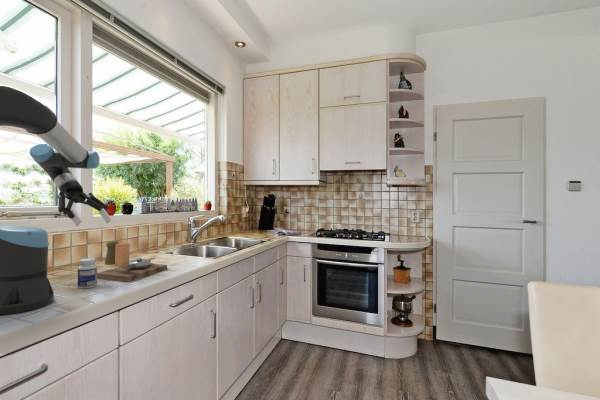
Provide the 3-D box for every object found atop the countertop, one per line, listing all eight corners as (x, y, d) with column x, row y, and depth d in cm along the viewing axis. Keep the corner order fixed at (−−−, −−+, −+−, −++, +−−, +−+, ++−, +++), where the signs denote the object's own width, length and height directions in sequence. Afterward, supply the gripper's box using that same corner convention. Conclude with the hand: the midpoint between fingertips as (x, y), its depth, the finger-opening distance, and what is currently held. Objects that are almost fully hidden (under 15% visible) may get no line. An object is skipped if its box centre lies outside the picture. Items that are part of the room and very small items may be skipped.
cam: (127, 273, 116) (128, 244, 116) (109, 271, 118) (110, 243, 118) (162, 263, 135) (162, 238, 135) (145, 261, 137) (146, 237, 137)
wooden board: (128, 282, 112) (128, 276, 112) (94, 278, 115) (95, 272, 115) (167, 269, 133) (167, 264, 133) (137, 266, 137) (138, 261, 137)
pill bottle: (82, 284, 107) (82, 257, 107) (99, 284, 108) (100, 257, 108) (74, 289, 101) (74, 261, 101) (92, 288, 103) (93, 260, 103)
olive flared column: (122, 262, 144) (122, 240, 144) (113, 265, 138) (113, 242, 138) (111, 261, 145) (111, 239, 145) (101, 264, 139) (102, 241, 139)
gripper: (91, 192, 139) (115, 225, 135) (31, 191, 115) (58, 231, 111) (100, 181, 137) (124, 214, 133) (41, 177, 113) (69, 218, 110)
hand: (94, 222), depth 122 cm, fingers open, 13 cm apart
